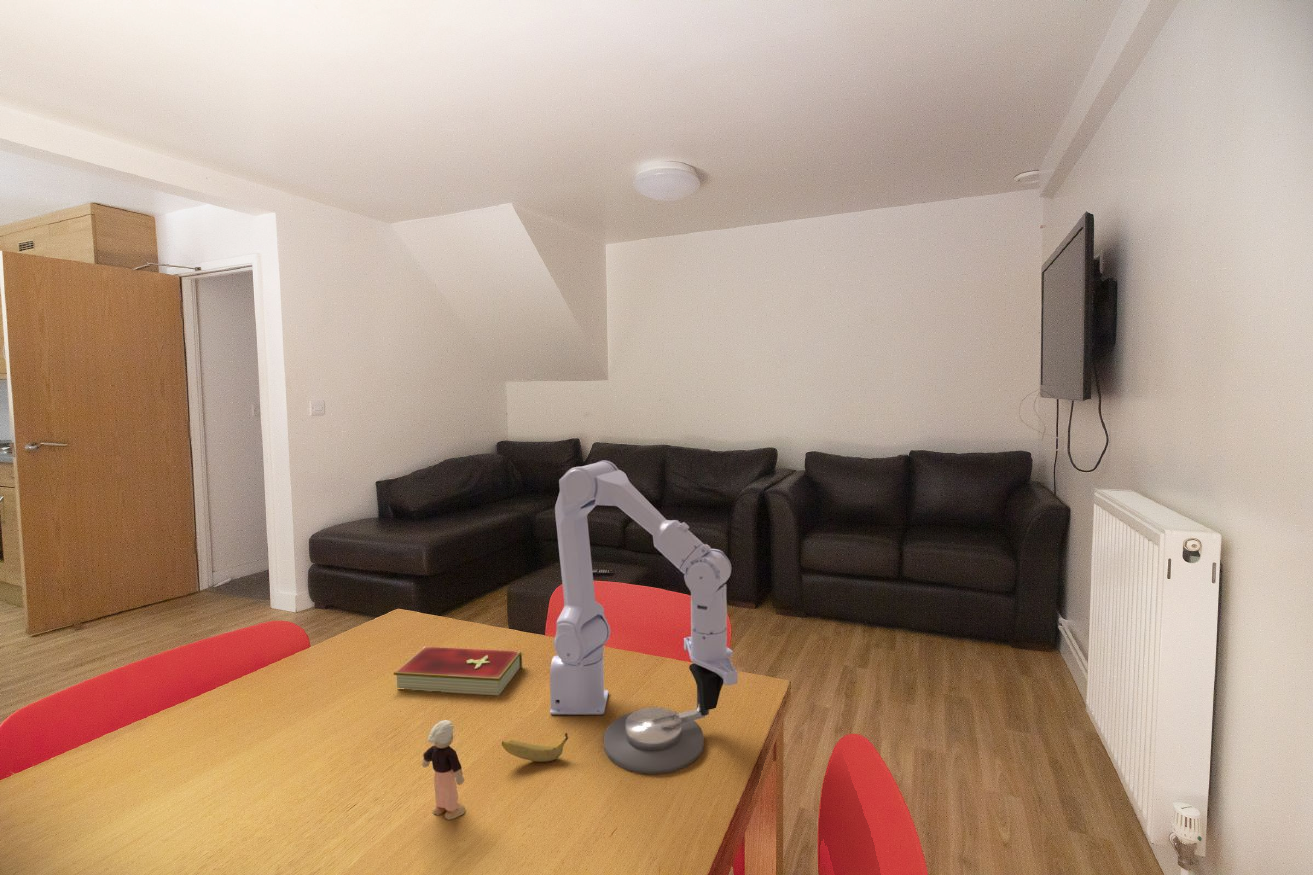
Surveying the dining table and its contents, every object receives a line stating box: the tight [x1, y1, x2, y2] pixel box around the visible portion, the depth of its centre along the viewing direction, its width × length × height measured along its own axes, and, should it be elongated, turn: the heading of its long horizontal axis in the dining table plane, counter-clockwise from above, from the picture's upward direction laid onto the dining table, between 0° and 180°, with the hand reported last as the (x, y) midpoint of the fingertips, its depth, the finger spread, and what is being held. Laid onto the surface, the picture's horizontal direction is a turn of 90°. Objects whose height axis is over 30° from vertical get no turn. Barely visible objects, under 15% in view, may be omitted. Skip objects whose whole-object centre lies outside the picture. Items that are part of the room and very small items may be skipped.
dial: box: [625, 686, 710, 750], centre depth 102 cm, size 14×9×6 cm, turn 114°
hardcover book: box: [393, 646, 523, 696], centre depth 124 cm, size 12×21×4 cm, turn 82°
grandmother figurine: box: [421, 719, 466, 821], centre depth 86 cm, size 8×4×13 cm, turn 71°
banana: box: [501, 732, 569, 763], centre depth 97 cm, size 10×2×4 cm, turn 98°
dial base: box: [603, 711, 704, 775], centre depth 102 cm, size 16×16×1 cm
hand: (709, 707), depth 103 cm, fingers closed
